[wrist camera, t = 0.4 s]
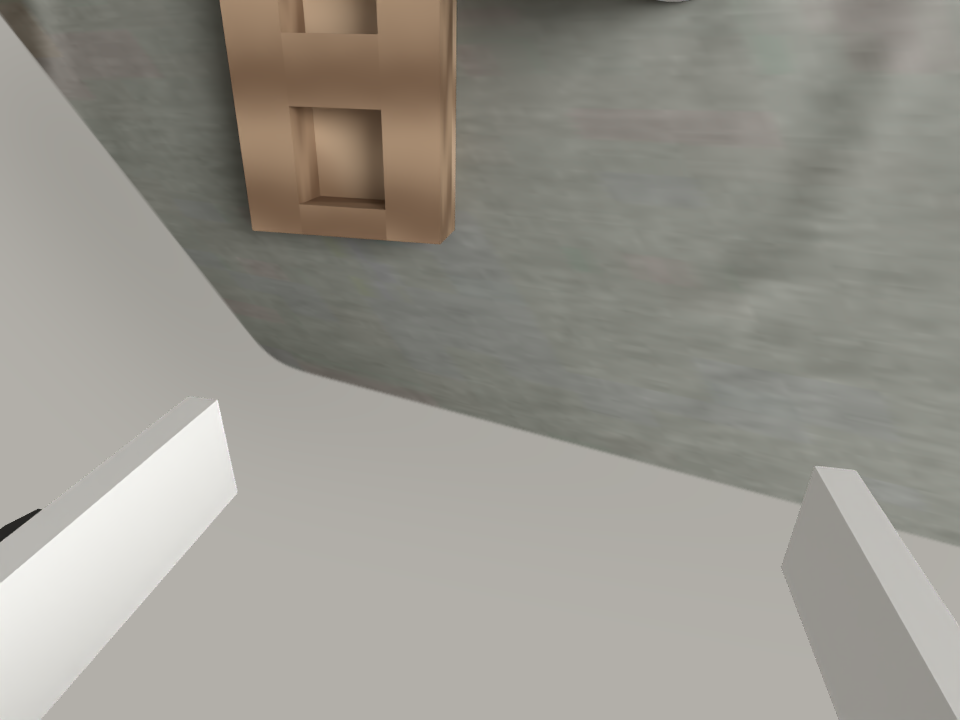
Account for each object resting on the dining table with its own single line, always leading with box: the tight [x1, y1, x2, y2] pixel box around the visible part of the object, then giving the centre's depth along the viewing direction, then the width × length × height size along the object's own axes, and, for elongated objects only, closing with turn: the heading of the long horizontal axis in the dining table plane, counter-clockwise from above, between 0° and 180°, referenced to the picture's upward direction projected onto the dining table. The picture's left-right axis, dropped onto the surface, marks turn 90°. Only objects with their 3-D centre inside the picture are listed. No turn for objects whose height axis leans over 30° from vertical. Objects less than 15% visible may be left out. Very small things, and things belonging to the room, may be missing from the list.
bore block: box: [220, 0, 457, 244], centre depth 33 cm, size 18×12×4 cm, turn 179°
